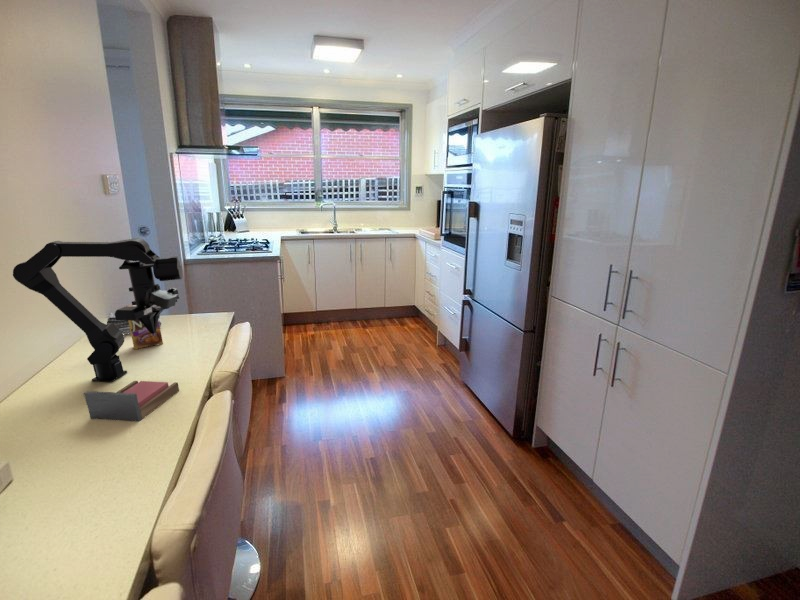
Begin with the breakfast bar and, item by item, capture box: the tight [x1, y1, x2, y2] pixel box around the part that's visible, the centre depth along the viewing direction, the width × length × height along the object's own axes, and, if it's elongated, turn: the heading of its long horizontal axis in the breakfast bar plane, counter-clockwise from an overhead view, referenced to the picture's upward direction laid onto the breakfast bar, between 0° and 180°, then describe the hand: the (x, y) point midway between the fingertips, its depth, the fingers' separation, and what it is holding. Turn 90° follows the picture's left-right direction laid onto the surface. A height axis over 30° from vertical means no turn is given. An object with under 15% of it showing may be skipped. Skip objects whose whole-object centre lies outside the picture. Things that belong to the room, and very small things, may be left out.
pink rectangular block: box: [123, 380, 170, 408], centre depth 105 cm, size 8×12×4 cm, turn 172°
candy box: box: [126, 304, 164, 350], centre depth 143 cm, size 9×4×15 cm, turn 123°
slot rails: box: [115, 380, 180, 420], centre depth 106 cm, size 13×14×2 cm
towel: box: [106, 312, 162, 335], centre depth 163 cm, size 15×18×8 cm
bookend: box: [83, 390, 143, 422], centre depth 98 cm, size 13×1×7 cm, turn 83°
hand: (153, 333), depth 122 cm, fingers closed
